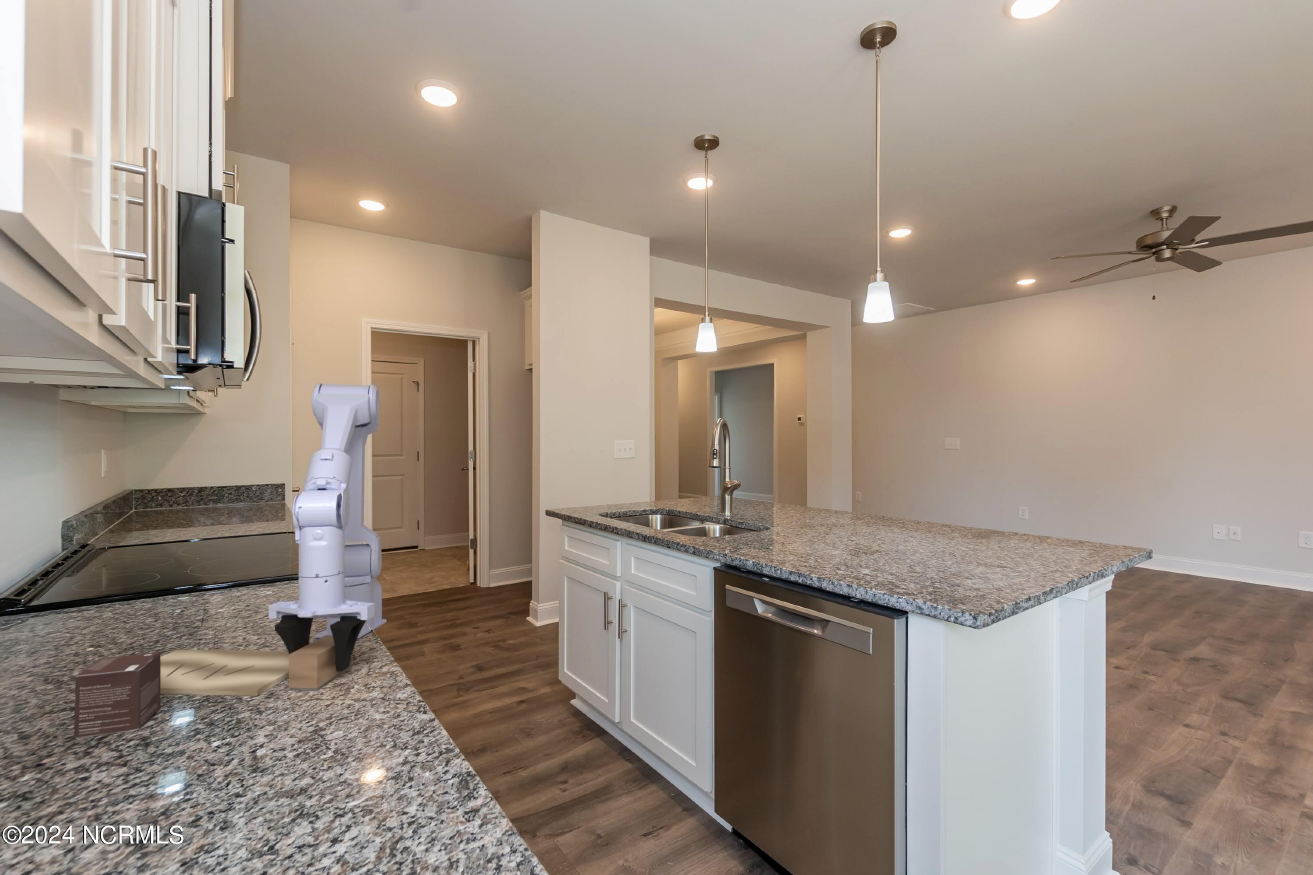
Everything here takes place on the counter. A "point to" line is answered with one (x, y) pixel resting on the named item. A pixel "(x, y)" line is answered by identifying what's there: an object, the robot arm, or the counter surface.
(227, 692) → the board
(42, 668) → the counter surface
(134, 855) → the counter surface
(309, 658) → the sanding block
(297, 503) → the robot arm
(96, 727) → the box
